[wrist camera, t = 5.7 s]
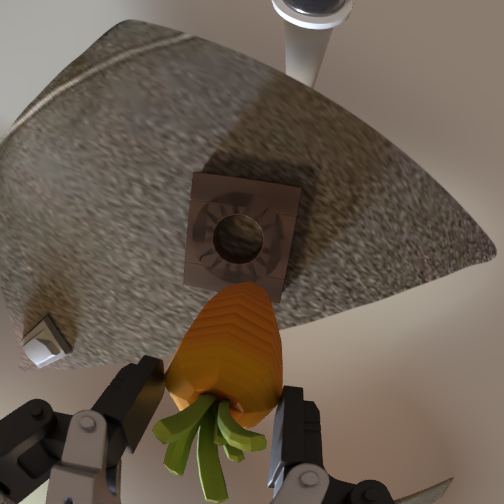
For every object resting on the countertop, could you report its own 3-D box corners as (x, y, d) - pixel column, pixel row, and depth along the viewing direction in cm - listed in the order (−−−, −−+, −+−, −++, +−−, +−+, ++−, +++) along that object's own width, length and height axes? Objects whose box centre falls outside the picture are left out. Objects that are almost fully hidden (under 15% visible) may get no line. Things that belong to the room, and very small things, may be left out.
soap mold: (72, 351, 53) (64, 359, 49) (43, 366, 58) (36, 373, 54) (47, 315, 51) (38, 322, 47) (22, 336, 56) (15, 342, 52)
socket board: (200, 171, 38) (193, 172, 35) (300, 186, 37) (301, 188, 34) (189, 277, 43) (183, 284, 40) (280, 294, 42) (279, 303, 39)
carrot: (219, 249, 20) (94, 416, 5) (291, 259, 19) (293, 465, 5) (214, 311, 21) (130, 488, 7) (279, 322, 21) (262, 519, 6)
